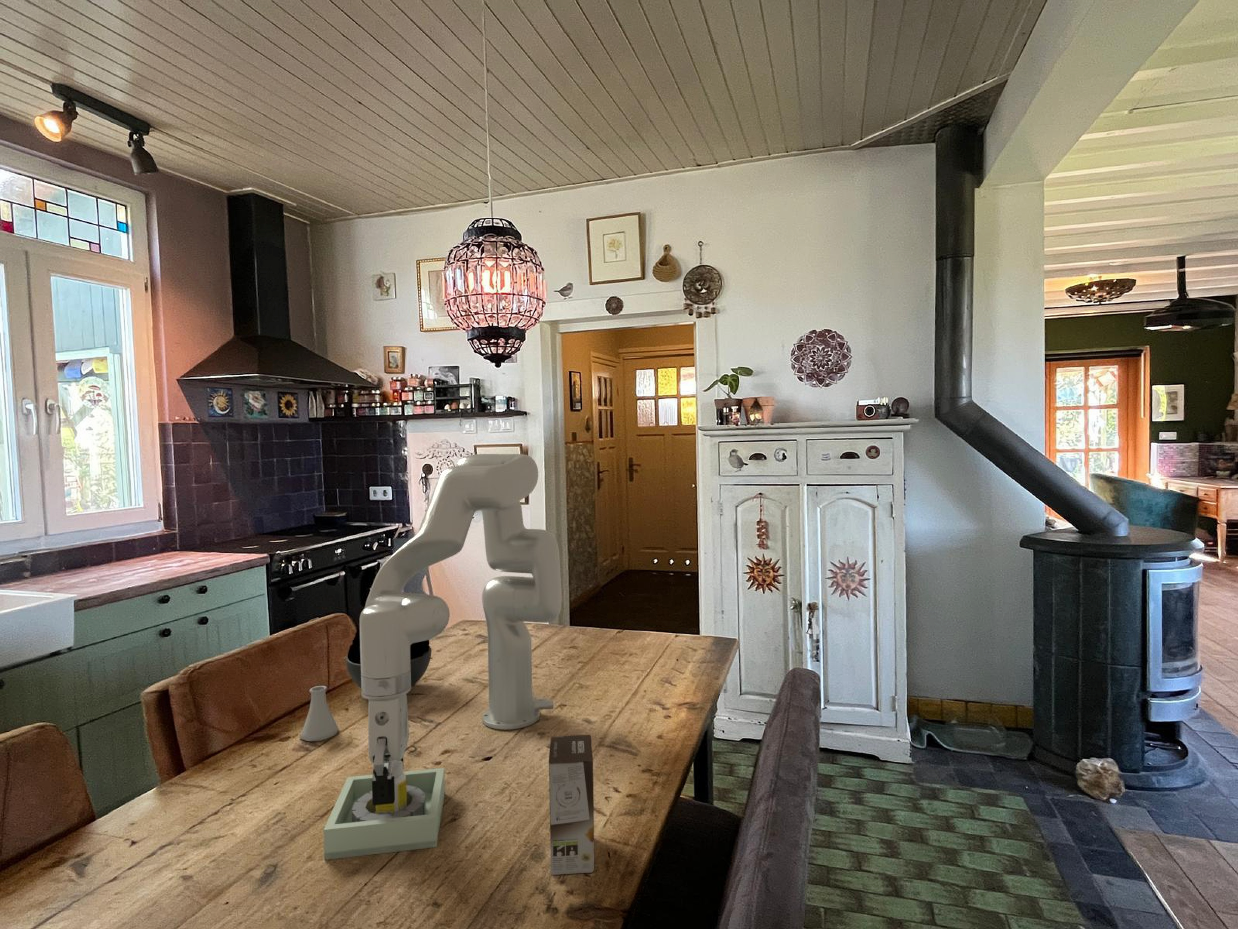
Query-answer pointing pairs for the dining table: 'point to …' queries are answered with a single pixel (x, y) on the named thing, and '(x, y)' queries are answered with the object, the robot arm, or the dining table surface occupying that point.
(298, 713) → the dining table surface
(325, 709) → the flask
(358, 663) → the bowl of black rocks
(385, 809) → the supplement bottle
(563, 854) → the coffee box
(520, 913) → the dining table surface
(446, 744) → the dining table surface
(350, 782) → the socket box
